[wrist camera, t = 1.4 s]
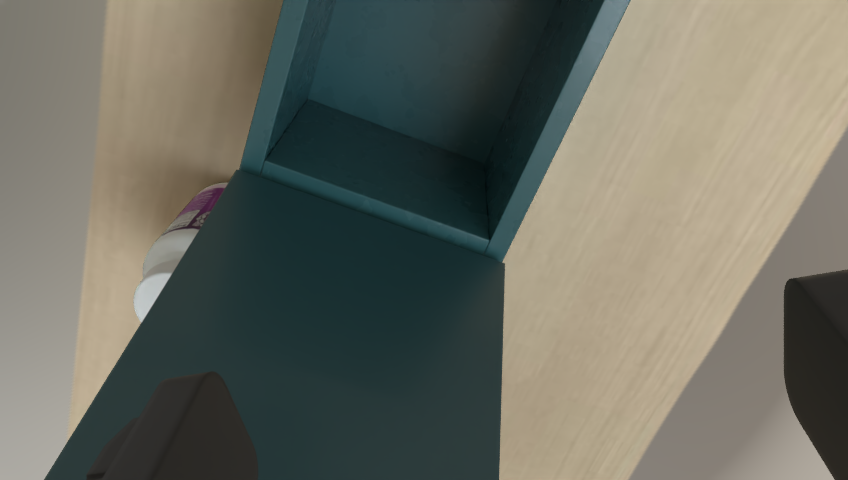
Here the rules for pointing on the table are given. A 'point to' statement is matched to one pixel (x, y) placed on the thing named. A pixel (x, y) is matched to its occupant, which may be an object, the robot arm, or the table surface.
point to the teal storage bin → (426, 107)
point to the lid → (322, 343)
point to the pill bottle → (173, 248)
